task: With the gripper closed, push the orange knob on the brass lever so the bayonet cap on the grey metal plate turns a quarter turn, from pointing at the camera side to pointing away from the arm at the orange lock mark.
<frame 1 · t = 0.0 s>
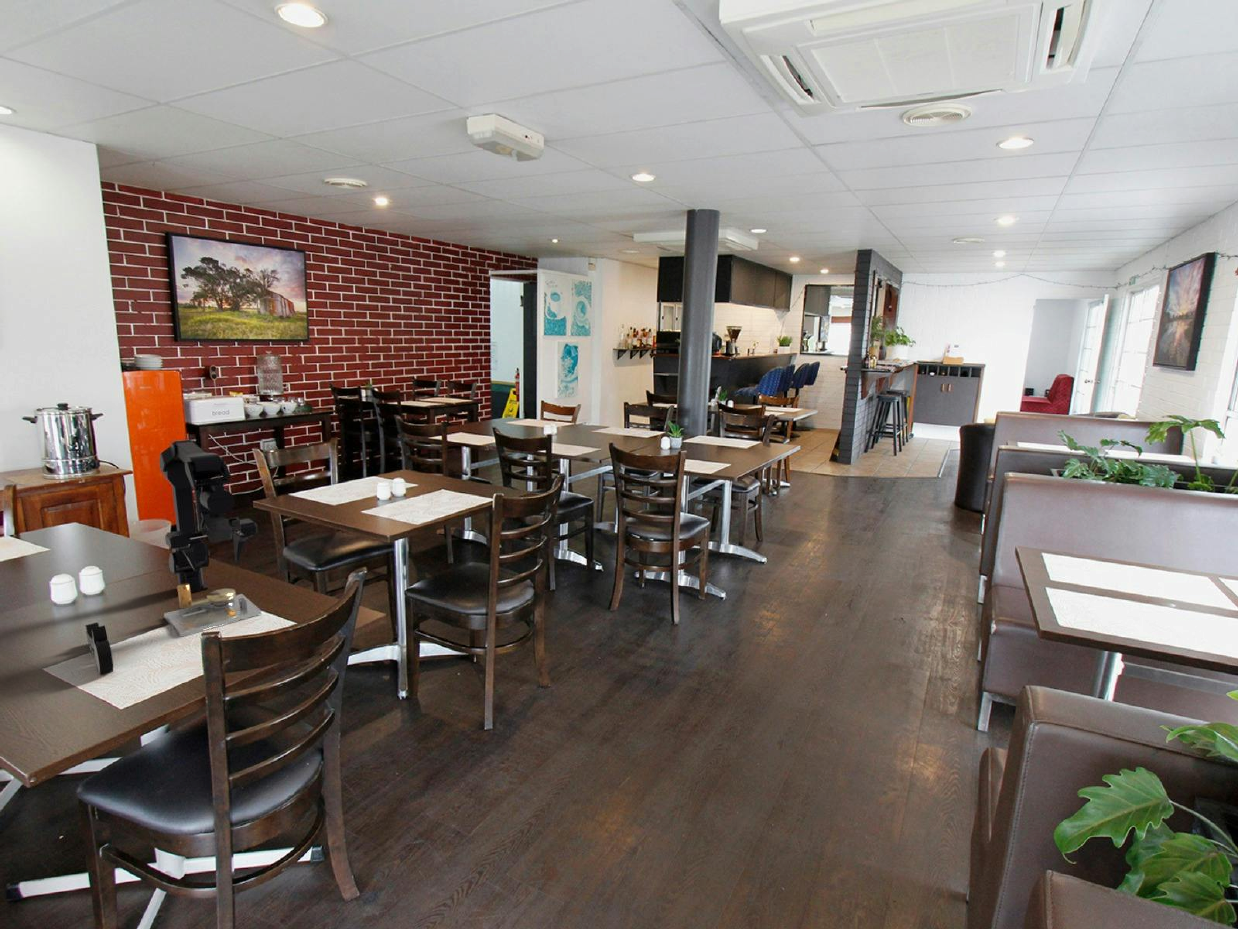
hand: (216, 565, 160), 15 cm above the table, fingers open, 9 cm apart
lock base: (213, 616, 165), on the table
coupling: (207, 590, 166), point 6 cm above the table, hinge at 0.0°
logo: (100, 660, 144), on the table
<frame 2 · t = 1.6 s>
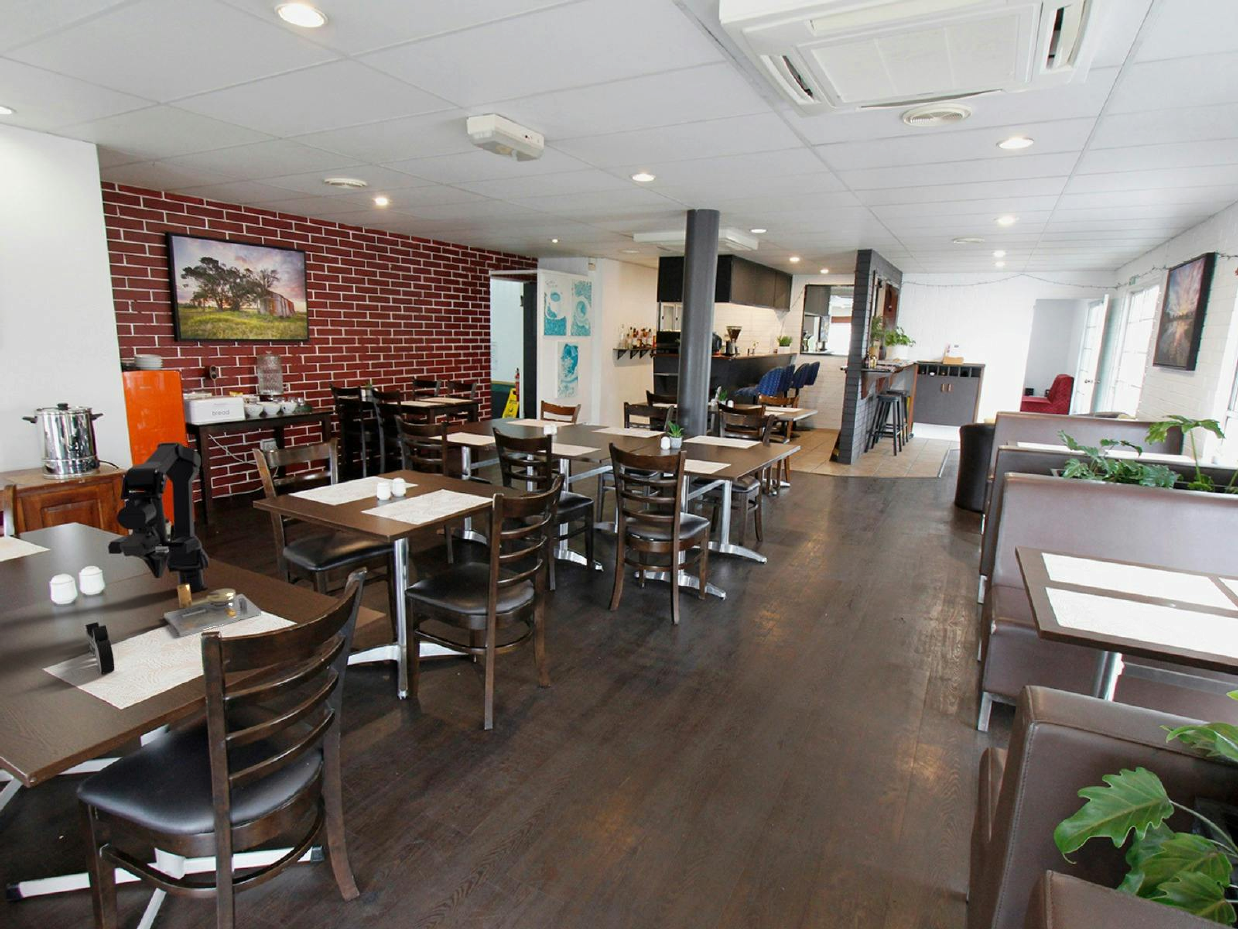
hand: (158, 577, 160), 12 cm above the table, fingers closed
nothing on the table moved.
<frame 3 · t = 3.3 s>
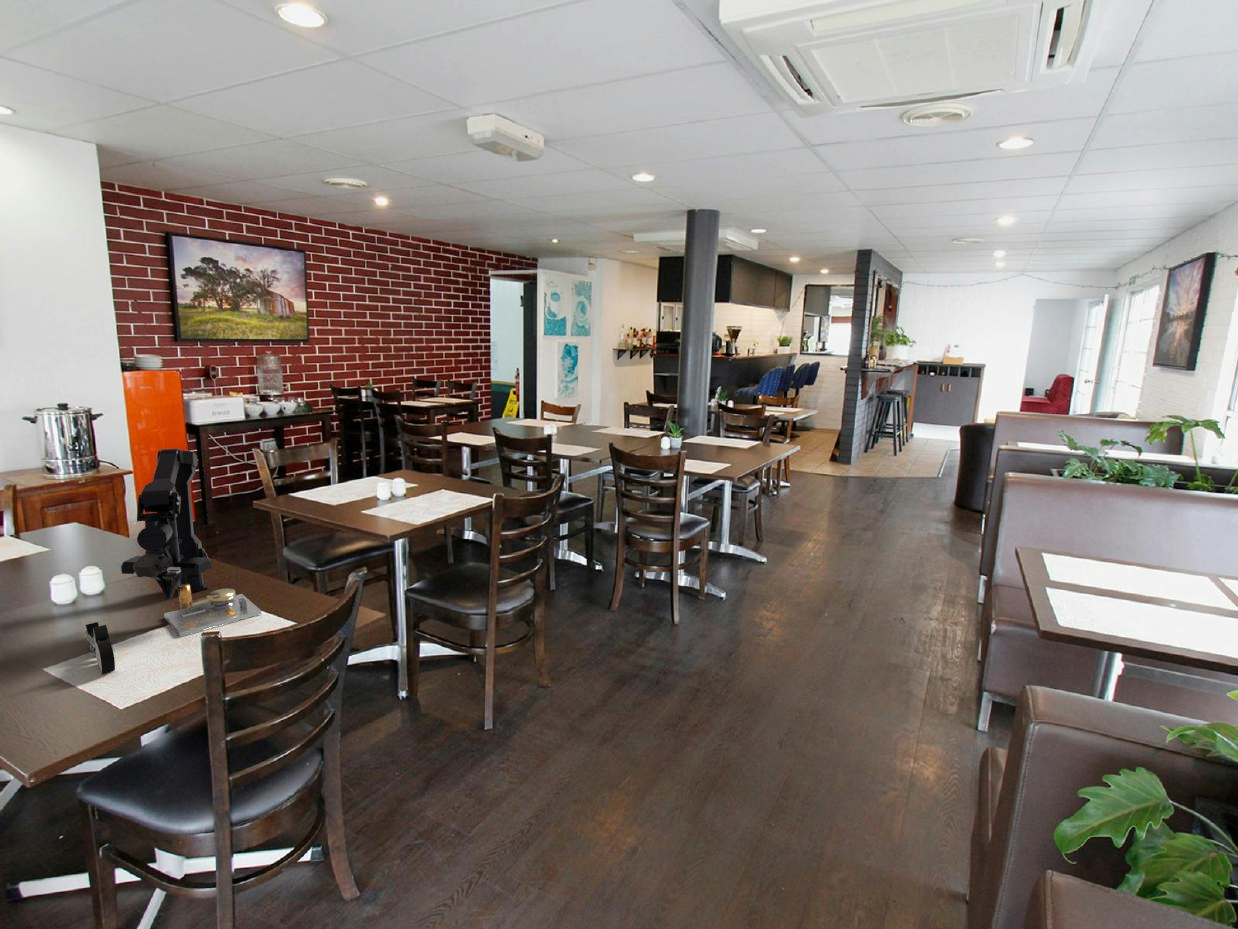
hand: (170, 598, 161), 6 cm above the table, fingers closed
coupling: (207, 590, 166), point 6 cm above the table, hinge at 2.9°, touching gripper
everything else where it was.
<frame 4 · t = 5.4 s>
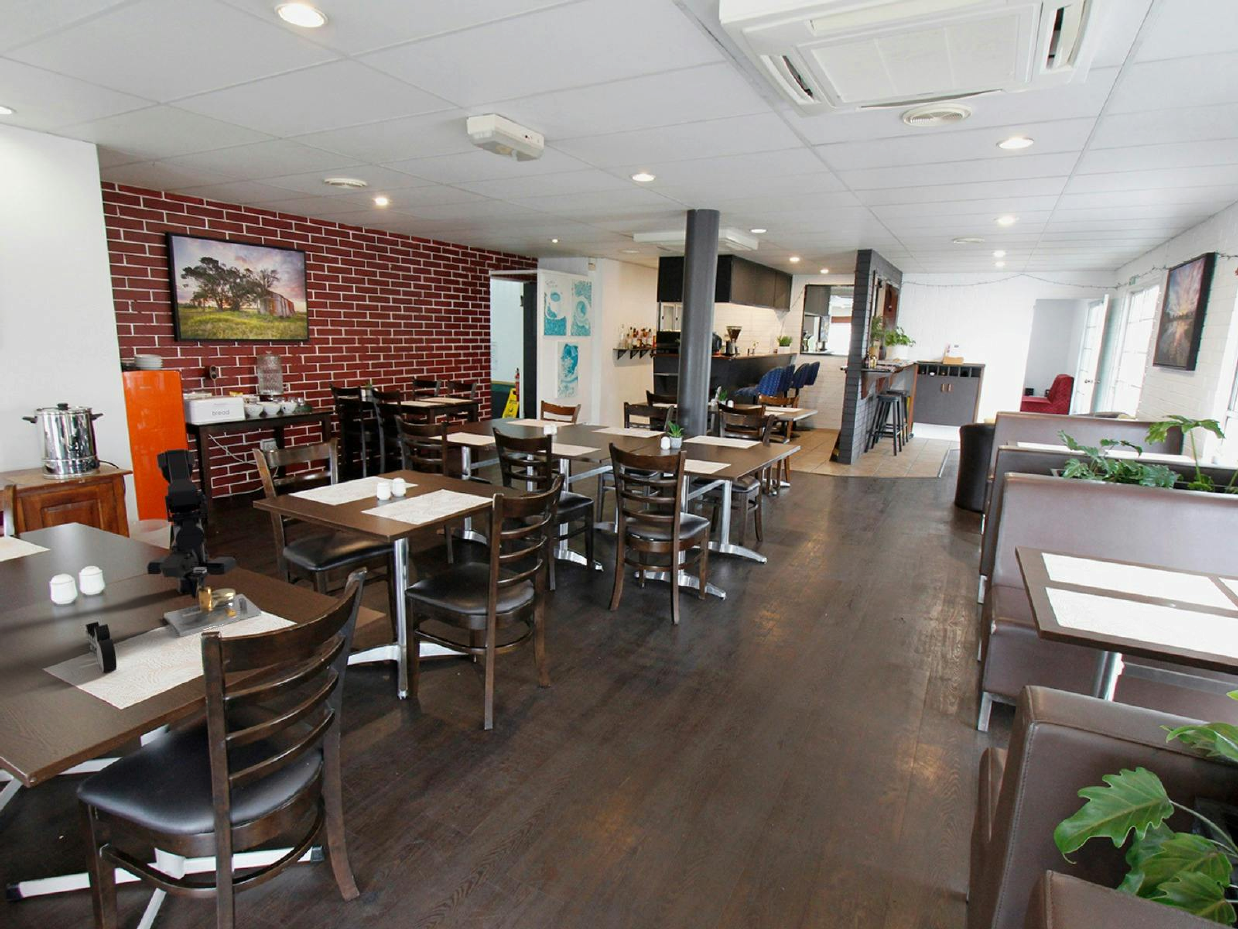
hand: (195, 597, 161), 6 cm above the table, fingers closed
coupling: (214, 592, 165), point 6 cm above the table, hinge at 51.7°, touching gripper
everything else where it was.
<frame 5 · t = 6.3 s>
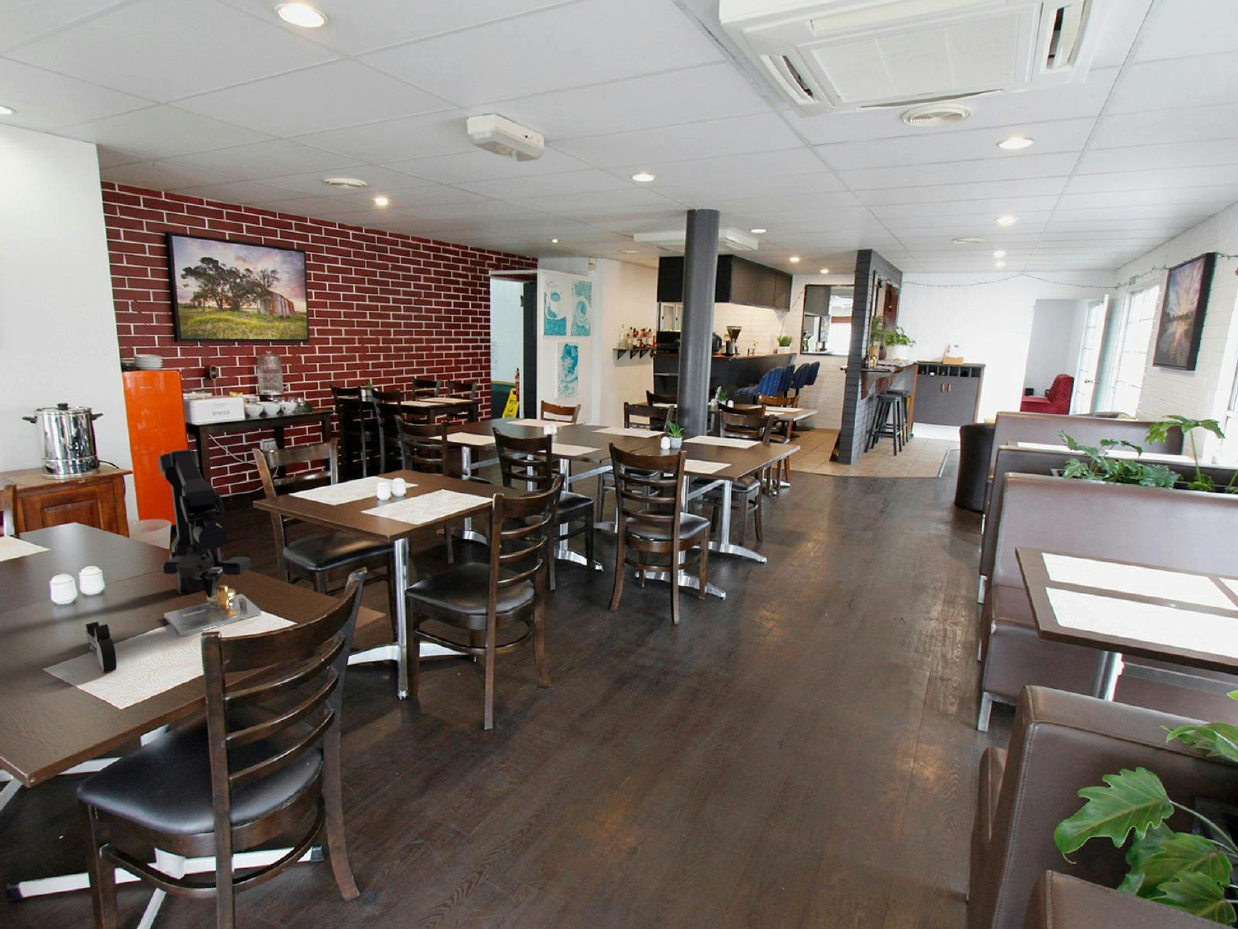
hand: (211, 597, 162), 6 cm above the table, fingers closed
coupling: (221, 591, 166), point 6 cm above the table, hinge at 78.7°, touching gripper
everything else where it was.
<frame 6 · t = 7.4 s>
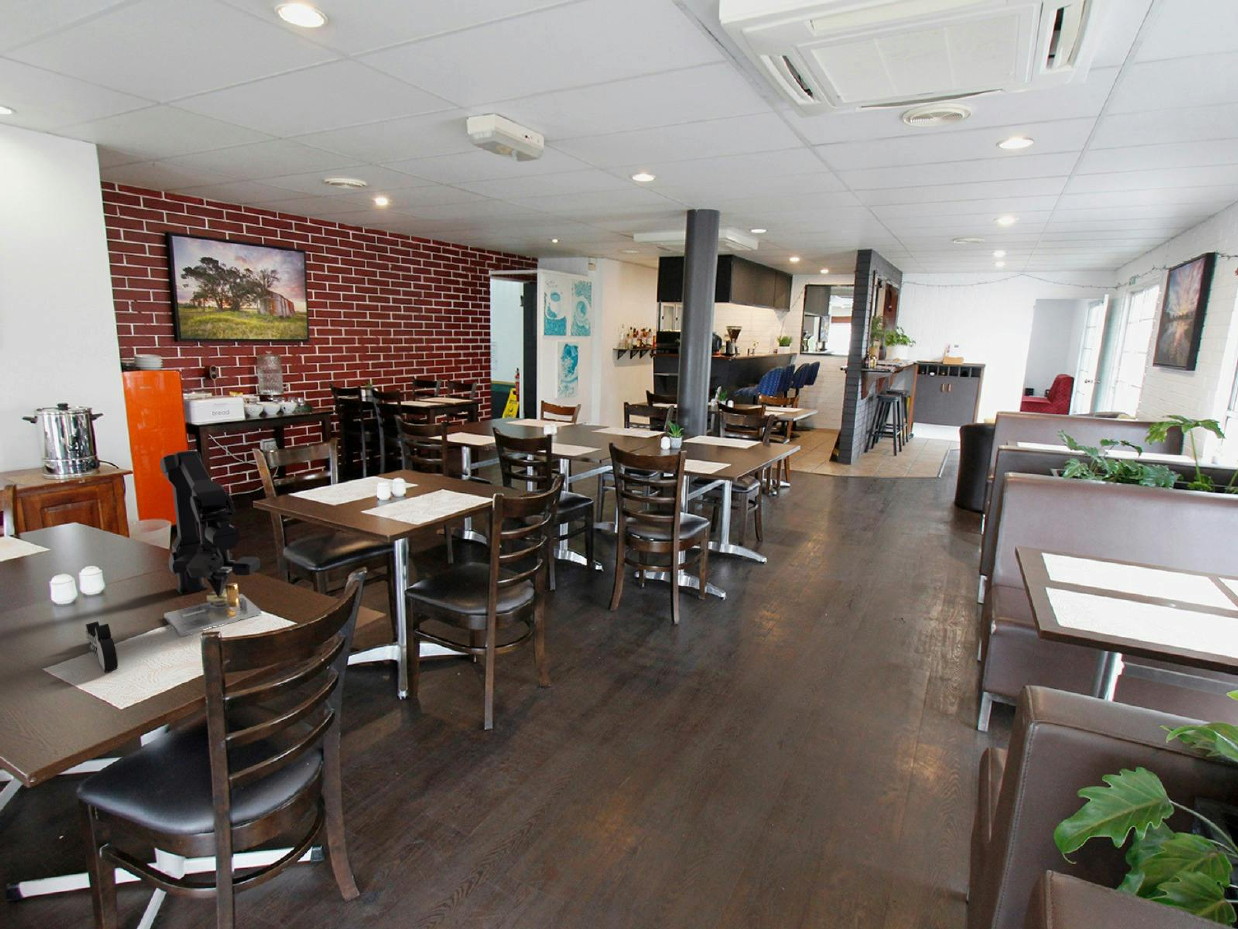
hand: (219, 596, 163), 6 cm above the table, fingers closed
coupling: (225, 590, 166), point 6 cm above the table, hinge at 94.4°, touching gripper
everything else where it was.
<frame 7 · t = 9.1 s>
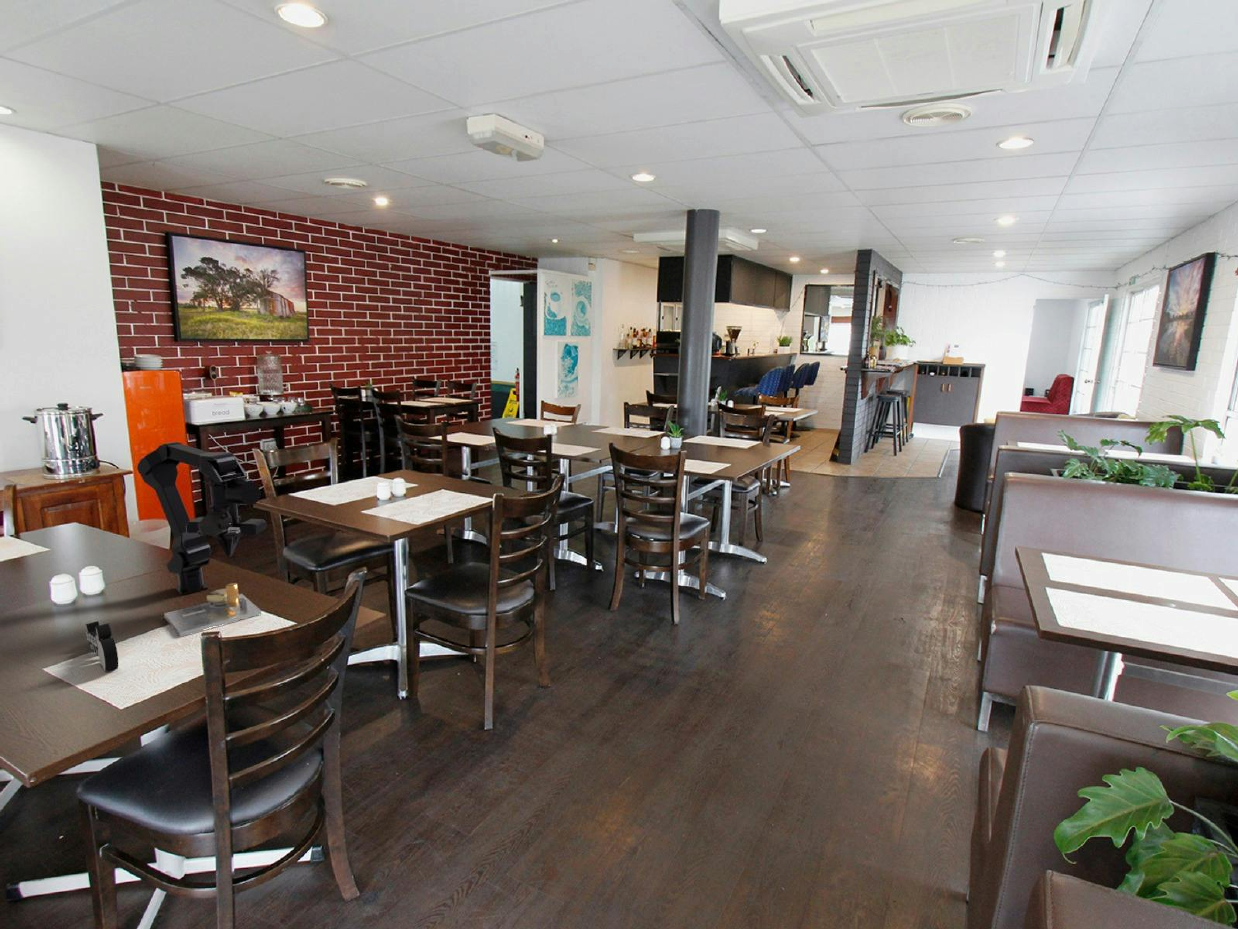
hand: (229, 556, 174), 12 cm above the table, fingers closed
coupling: (225, 590, 166), point 6 cm above the table, hinge at 94.4°
everything else where it was.
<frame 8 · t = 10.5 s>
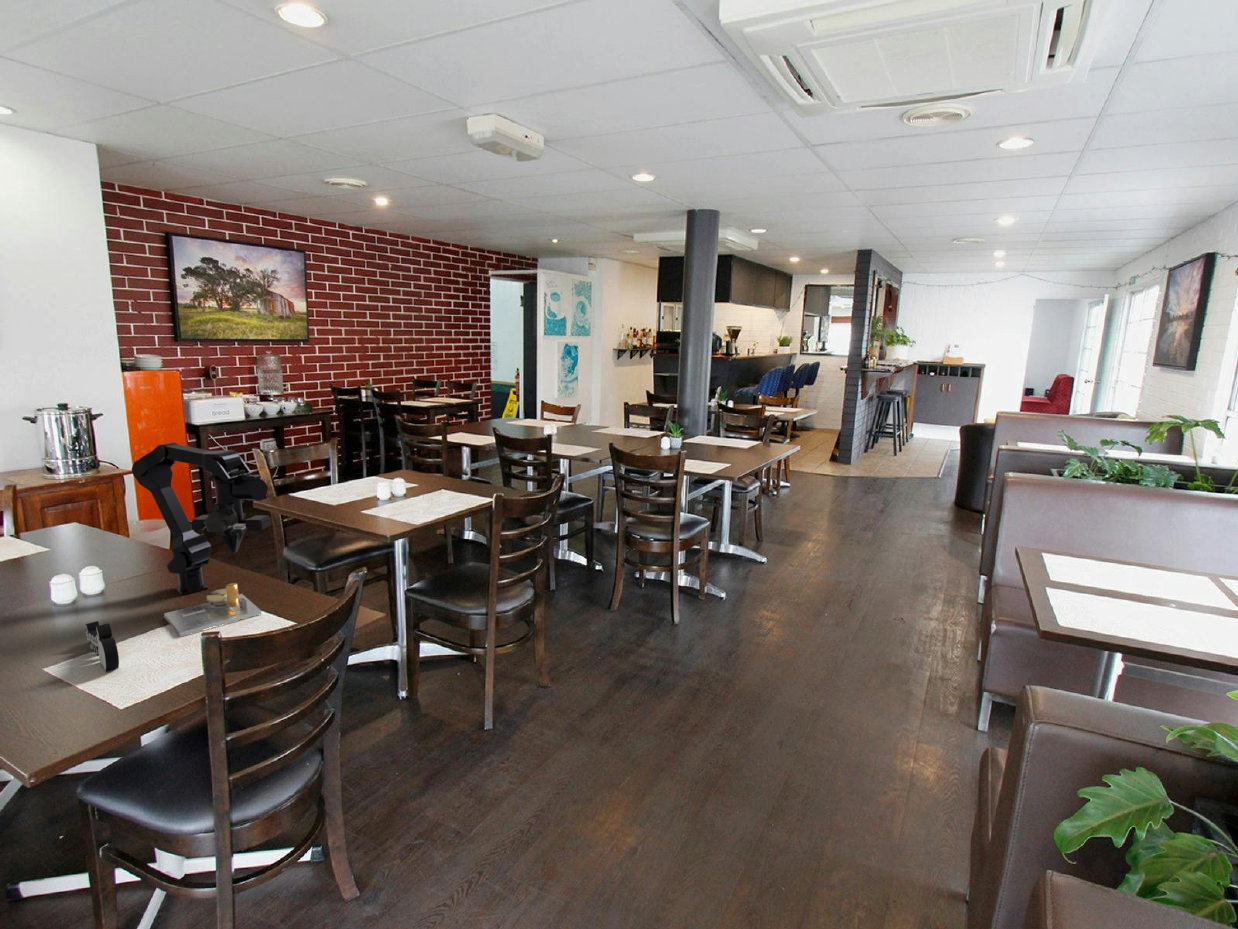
hand: (234, 552, 176), 13 cm above the table, fingers closed
nothing on the table moved.
at the end: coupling at +94° (first picture: +0°) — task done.
